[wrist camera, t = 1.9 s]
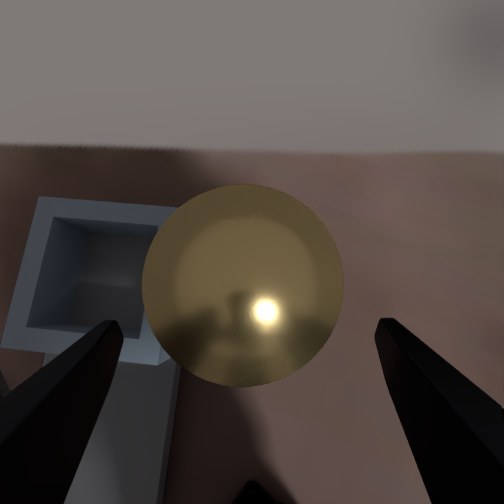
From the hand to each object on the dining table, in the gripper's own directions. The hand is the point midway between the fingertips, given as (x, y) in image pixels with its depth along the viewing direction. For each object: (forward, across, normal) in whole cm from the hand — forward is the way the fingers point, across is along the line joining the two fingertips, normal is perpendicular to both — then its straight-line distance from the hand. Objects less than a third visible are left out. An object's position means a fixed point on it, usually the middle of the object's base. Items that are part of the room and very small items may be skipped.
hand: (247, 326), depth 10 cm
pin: (+8, 0, +6) cm, 11 cm away
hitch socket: (+6, +9, +9) cm, 14 cm away
